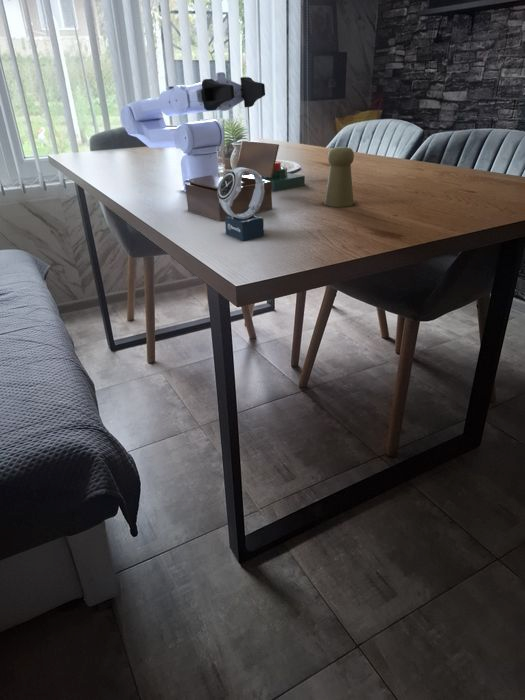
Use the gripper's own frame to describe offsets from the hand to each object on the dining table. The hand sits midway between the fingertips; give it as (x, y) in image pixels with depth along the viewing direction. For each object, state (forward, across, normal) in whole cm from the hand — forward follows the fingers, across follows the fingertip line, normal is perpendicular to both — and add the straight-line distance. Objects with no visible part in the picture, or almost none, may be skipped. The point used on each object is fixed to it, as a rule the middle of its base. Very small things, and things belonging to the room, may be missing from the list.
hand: (248, 90), depth 94 cm
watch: (+16, -16, +23) cm, 32 cm away
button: (-13, +16, +17) cm, 27 cm away
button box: (-14, +16, +21) cm, 29 cm away
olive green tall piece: (+12, +12, +23) cm, 29 cm away
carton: (-1, -7, +22) cm, 23 cm away
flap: (0, 0, +12) cm, 12 cm away
